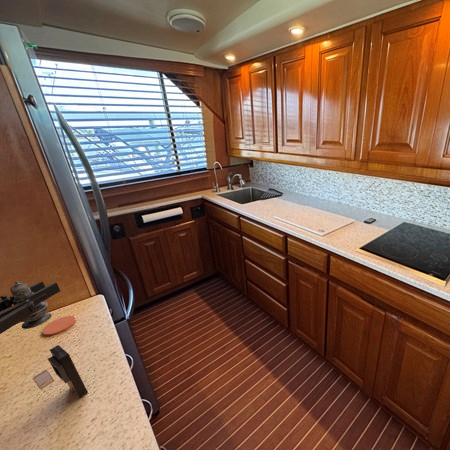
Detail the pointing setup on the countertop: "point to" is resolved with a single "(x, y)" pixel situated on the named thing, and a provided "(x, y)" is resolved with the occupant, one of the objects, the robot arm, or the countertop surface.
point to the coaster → (59, 325)
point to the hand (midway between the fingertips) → (50, 286)
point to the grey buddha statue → (40, 315)
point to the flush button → (43, 379)
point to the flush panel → (67, 370)
